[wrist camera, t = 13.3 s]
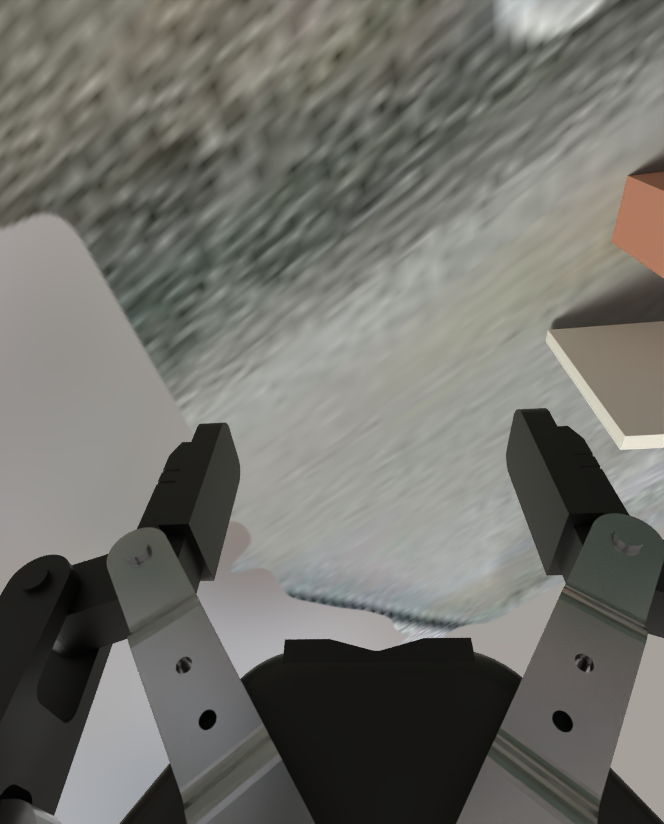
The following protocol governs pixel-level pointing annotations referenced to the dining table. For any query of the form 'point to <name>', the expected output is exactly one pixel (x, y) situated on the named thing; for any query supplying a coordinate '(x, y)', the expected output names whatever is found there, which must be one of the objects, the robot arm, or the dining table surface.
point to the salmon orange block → (642, 220)
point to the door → (618, 377)
